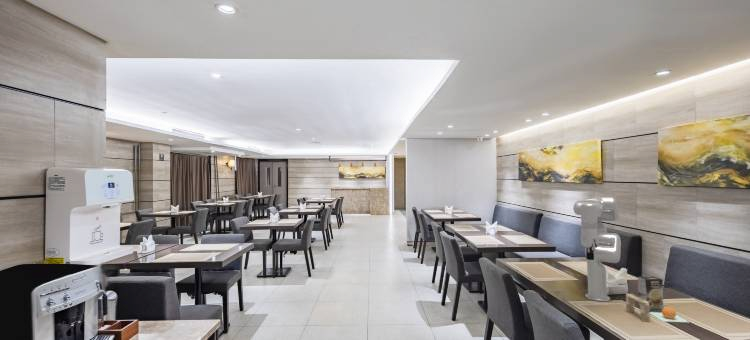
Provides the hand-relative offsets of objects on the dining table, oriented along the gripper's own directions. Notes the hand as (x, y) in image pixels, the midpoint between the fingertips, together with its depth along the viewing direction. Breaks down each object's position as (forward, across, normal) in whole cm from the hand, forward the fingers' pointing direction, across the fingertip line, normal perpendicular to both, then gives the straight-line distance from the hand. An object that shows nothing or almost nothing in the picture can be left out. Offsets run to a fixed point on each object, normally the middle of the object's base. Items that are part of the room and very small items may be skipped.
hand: (590, 259), depth 191 cm
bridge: (+27, +7, +19) cm, 34 cm away
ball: (+24, +8, +33) cm, 42 cm away
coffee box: (+27, -8, +34) cm, 44 cm away
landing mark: (+27, +7, +33) cm, 43 cm away
